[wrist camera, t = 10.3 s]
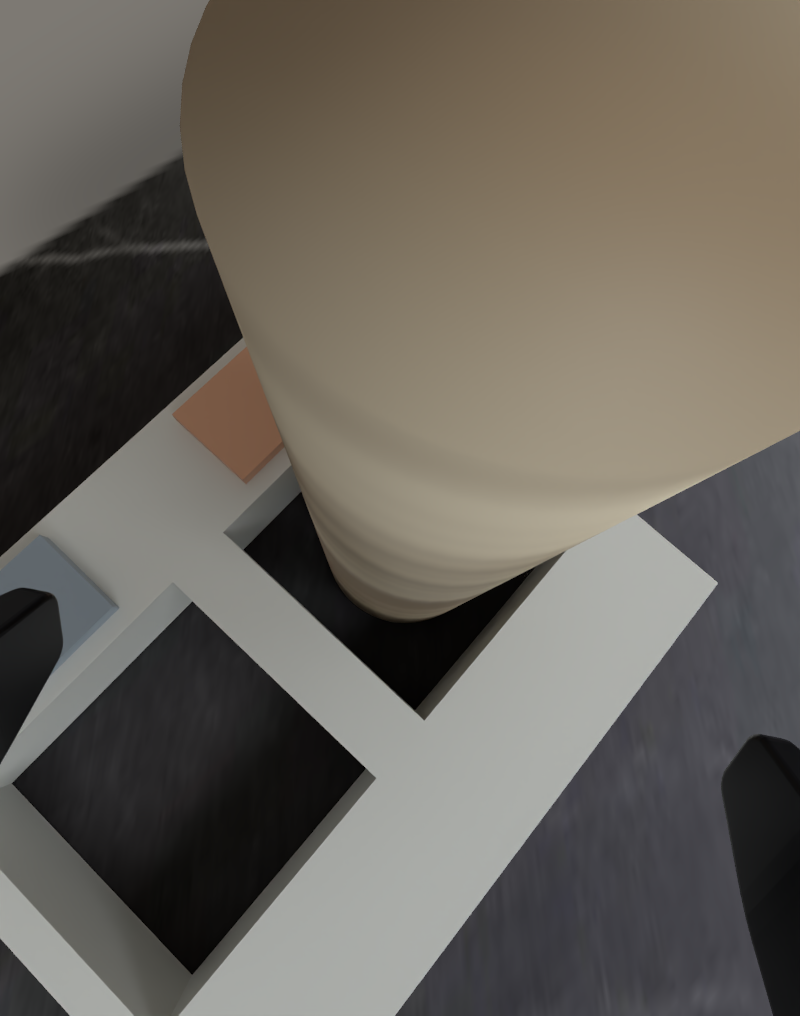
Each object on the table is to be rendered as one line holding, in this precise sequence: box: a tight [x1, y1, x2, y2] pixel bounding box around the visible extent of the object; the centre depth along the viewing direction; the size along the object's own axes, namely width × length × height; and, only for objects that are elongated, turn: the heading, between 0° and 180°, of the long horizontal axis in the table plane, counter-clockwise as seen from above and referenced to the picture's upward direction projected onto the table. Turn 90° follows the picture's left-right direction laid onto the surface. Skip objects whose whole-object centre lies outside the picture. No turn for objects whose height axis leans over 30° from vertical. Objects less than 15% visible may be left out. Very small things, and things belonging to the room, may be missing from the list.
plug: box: [180, 0, 800, 623], centre depth 10 cm, size 4×4×14 cm
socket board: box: [0, 338, 718, 1016], centre depth 15 cm, size 16×13×3 cm
